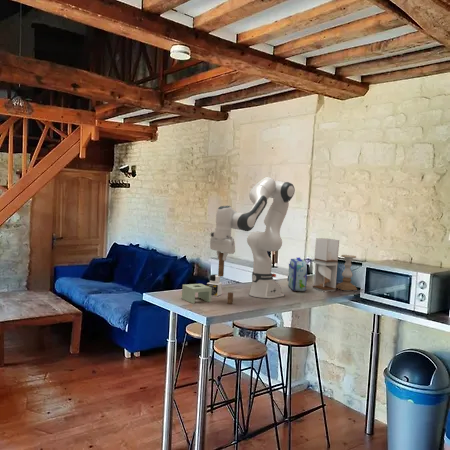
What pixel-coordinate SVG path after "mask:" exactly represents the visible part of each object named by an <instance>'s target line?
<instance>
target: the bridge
mask: <svg viewBox="0 0 450 450" xmlns="http://www.w3.org/2000/svg"><path fill="white" fill-rule="evenodd" d="M181 292H182V293H181V299H182V300H183V301H186V302H188V303H190V304H193V305H194V304H195V302H196V293H197V298H198V299H200V298H201V299H200V300H203V301H204V302H207V303H211V302H212V295H211V294H212V288H211V287H209V286H207V284H206V285H205V284H203V283H189V284H182V290H181Z"/></svg>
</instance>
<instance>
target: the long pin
mask: <svg viewBox="0 0 450 450" xmlns="http://www.w3.org/2000/svg"><path fill="white" fill-rule="evenodd" d="M223 255H224V254H223V252H221V253H219V259H218V270H217V271H218V272H217V275H218V276H220V278H221V277H223V278H224V275H225V273H224V271H225V261H224V260H222V257H223Z"/></svg>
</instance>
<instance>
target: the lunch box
mask: <svg viewBox="0 0 450 450" xmlns="http://www.w3.org/2000/svg"><path fill="white" fill-rule="evenodd" d="M307 279H308V265H307V262H306V261H305V260H304V259H302V258H301V257H296V258H290V261H289V263H288V275H287V282H288V283H287V284H288V287H289V288H290V289H291V290H292V291H293V292H295V291H296V292H306V290H307V285H308V284H307Z"/></svg>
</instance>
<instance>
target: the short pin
mask: <svg viewBox="0 0 450 450" xmlns="http://www.w3.org/2000/svg"><path fill="white" fill-rule="evenodd" d="M233 301H234V292H227V299H226V302H227V303H226V304H227V305H233V303H234V302H233Z"/></svg>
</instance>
